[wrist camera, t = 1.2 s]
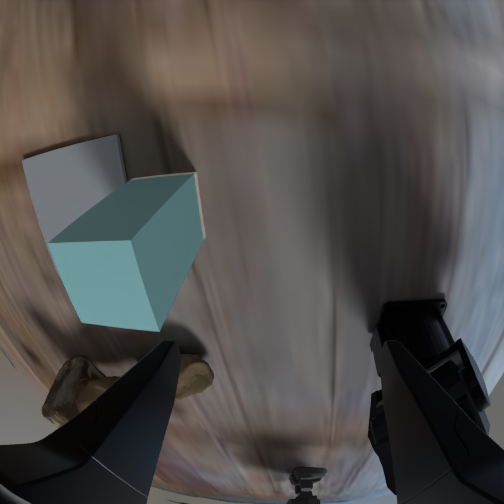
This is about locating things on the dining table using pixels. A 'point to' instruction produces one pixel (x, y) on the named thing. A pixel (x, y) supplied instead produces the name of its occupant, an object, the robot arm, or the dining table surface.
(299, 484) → the toy robot
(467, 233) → the dining table surface
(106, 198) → the teal block
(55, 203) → the felt mat
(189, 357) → the sculpture
